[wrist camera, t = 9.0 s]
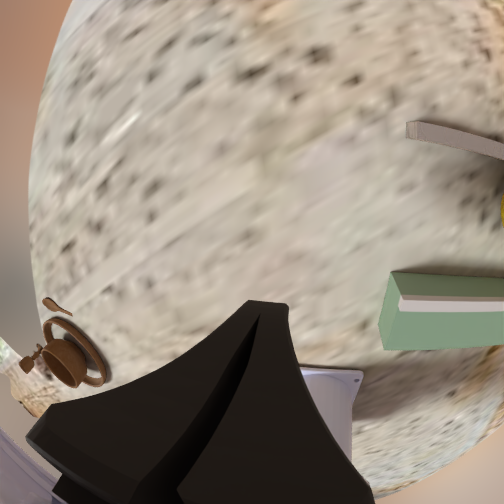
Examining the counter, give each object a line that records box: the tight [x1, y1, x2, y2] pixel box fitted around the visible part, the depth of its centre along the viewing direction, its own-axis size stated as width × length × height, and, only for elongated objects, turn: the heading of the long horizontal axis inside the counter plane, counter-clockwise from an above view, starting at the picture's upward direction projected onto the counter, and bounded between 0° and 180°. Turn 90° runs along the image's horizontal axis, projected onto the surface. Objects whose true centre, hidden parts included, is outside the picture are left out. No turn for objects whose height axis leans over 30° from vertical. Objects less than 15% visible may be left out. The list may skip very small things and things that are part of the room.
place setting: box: [19, 298, 106, 388], centre depth 30 cm, size 18×20×6 cm
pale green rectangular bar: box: [378, 272, 504, 350], centre depth 15 cm, size 4×16×4 cm, turn 91°
